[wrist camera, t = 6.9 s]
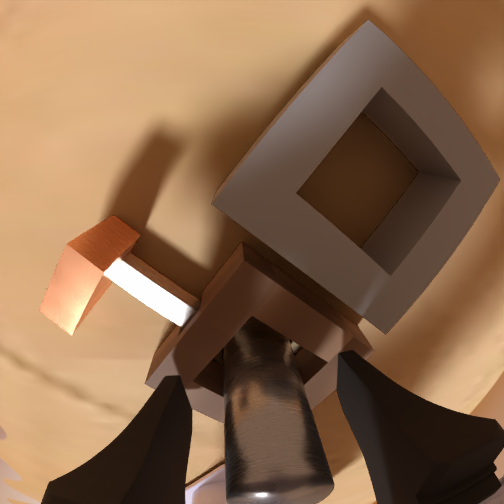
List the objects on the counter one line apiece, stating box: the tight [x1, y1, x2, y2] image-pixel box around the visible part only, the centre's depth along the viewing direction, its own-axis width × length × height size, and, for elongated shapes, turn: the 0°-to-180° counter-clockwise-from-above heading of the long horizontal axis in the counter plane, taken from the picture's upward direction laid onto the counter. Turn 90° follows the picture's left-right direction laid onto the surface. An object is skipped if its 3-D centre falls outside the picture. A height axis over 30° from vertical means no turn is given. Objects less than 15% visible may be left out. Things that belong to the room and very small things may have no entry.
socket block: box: [145, 242, 375, 423], centre depth 13 cm, size 7×7×2 cm
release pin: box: [39, 215, 201, 335], centre depth 11 cm, size 6×3×4 cm, turn 52°
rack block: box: [212, 19, 500, 335], centre depth 10 cm, size 8×8×3 cm
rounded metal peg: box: [224, 316, 334, 504], centre depth 10 cm, size 3×3×8 cm
